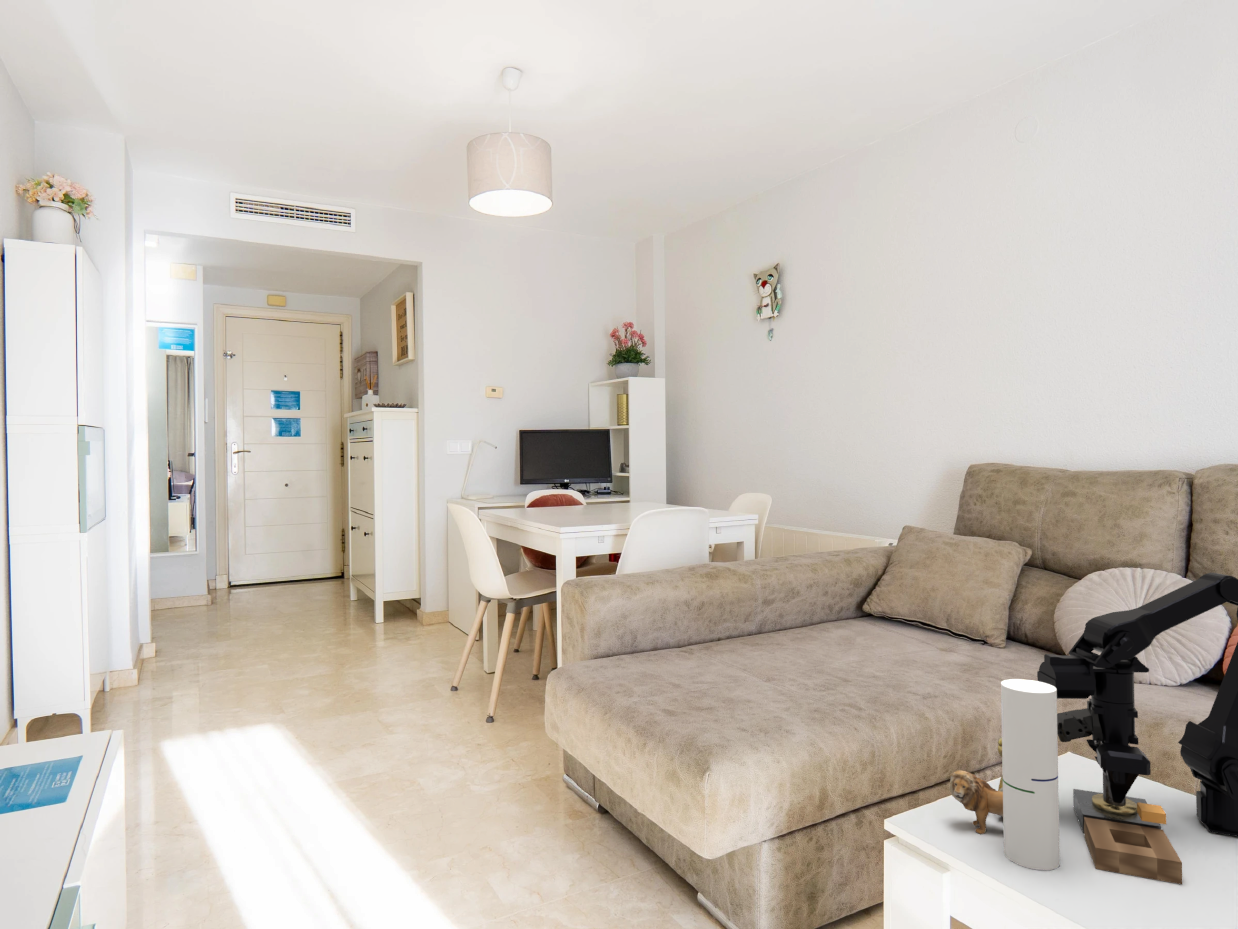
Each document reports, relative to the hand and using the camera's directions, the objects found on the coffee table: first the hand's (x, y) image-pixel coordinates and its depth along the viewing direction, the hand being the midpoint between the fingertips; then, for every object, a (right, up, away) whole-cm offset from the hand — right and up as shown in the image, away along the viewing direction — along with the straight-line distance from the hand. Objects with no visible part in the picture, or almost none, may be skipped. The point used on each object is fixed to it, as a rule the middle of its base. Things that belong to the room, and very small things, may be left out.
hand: (1114, 797), depth 116 cm
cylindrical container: (-18, -5, -9) cm, 21 cm away
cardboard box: (+1, 0, -6) cm, 6 cm away
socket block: (0, -5, 0) cm, 4 cm away
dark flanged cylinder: (0, -5, 0) cm, 4 cm away
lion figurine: (-20, -5, -2) cm, 20 cm away
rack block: (-5, -4, -10) cm, 12 cm away
